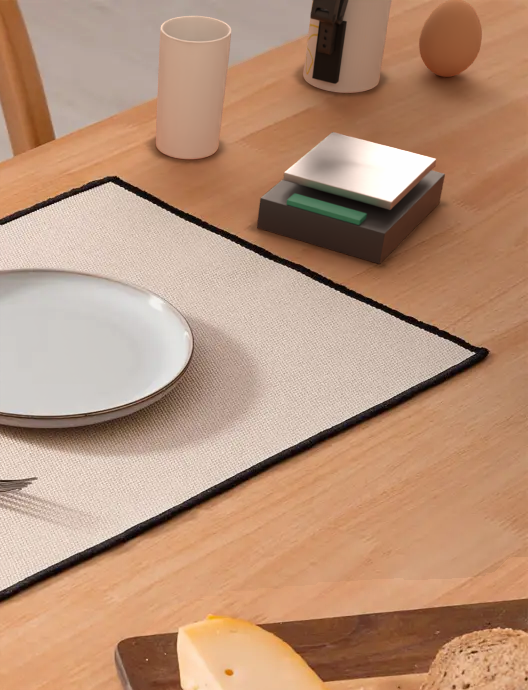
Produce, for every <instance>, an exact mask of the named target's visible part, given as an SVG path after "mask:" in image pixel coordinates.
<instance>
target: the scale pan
mask: <svg viewBox="0 0 528 690" xmlns="http://www.w3.org/2000/svg"><path fill="white" fill-rule="evenodd" d="M436 164H437V158H435V157H432V156H431V157H430V156H427V155H423V154H419V153H415V152H412V151H407V150H404V149H400V148H396V147H392V146H388V145H385V144H381V143H377V142H373V141H369V140H365V139H362V138H358V137H354V136H350V135H346V134H343V133H339V132H334V131H331V133H330V134H328V135H327V136H326V137H324V138H323V139H322V140H321V141H320V142H318V144H316V145H315V146H314V147H313V148H311V149H310V150H309V151H308V152H307V153H305V154H304V155H303V156H301V158H299V159H298V160H297V161H296V162H294V163H293V164H292V165H291V166H289V168H287V170H285V171H284V172H283V178H282V179H283V180H285V181H288V182H292V183H295V184H299V185H302V186H306V187H310V188H313V189H317V190H320V191H324V192H328V193H331V194H335V195H338V196H342V197H345V198H349V199H353V200H356V201H360V202H363V203H367V204H371V205H374V206H378V207H381V208H385V209H388V210H391V209H392V208H393V207H394V206H395V205H396V204H397V203H398V202H399V201H400V200H401V199H402V198H403V197H404V196H405V195H406V194H407V193H408V192H409V191H410V190H411V189H412V188H413V187H415V186H416V185H417V184H418V183H419V182H420V181H421V180H422V179H423V178H424V177H425V176H426V175H427V174H428V173H429V172H430V171H431V170H432V171H433V169H434V168H435V167H436Z"/></svg>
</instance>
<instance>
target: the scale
mask: <svg viewBox="0 0 528 690" xmlns="http://www.w3.org/2000/svg"><path fill="white" fill-rule="evenodd" d="M445 175H446V174H445V173H444V172H439V171H436V170H433V169H432V170H431V171H430V172H429V173H428V174H427V175H426V176H425V177H424V178H423V179H422V180H421V181H420V182H419V183H418V184H417V185H416V186H415V187H413V188H412V189H411V190H410V191H409V192H408V193H407V194H406V195H405V196H404V197H403V198H402V199H401V200H400V201H399V202H398V203H397V204H396V205H395V206H394V207H393V208H392V209H391V210H388V209H385V208H381V207H378V206H374V205H371V204H367V203H363V202H360V201H356V200H353V199H349V198H345V197H342V196H338V195H335V194H331V193H328V192H324V191H320V190H317V189H313V188H310V187H306V186H302V185H299V184H295V183H292V182H288V181H285V180H283V178H282V179H281V180H280V181H279V182H277V183H276V184H275V185H274V186H273V187H272V188H270V189H269V190H268V191H267V192H266V193H264V194H263V195H262V196H261V197H260V198H259V205H258V206H259V207H258V214H257V215H258V216H257V225H256V227H257V228H256V229H260V230H263V231H267V232H270V233H274V234H277V235H280V236H284V237H286V238H291V239H294V240H297V241H301V242H303V243H308V244H311V245H313V246H318V247H321V248H324V249H328V250H331V251H334V252H338V253H341V254H345V255H347V256H351V257H355V258H358V259H361V260H365V261H368V262H372V263H375V264H377V265H381V263H383V261H384V260H385V259H386V258H387V257H388V256H390V254H392V252H393V251H394V250H395V249H396V248H397V247H398V246H399V245H400V244H401V243H402V242H403V241H404V240H405V239H406V238H407V237H408V236H409V235H410V234H411V233H412V232H413V231H414V230H415V229H416V228H417V226H418V225H420V224H421V223H422V222H423V221H424V220H425V218H426V217H428V215H429V214H430V213H432V211H434V209H436V207H438V206H439V204H440V203H441V198H442V193H443V187H444V182H445V177H446V176H445Z"/></svg>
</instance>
